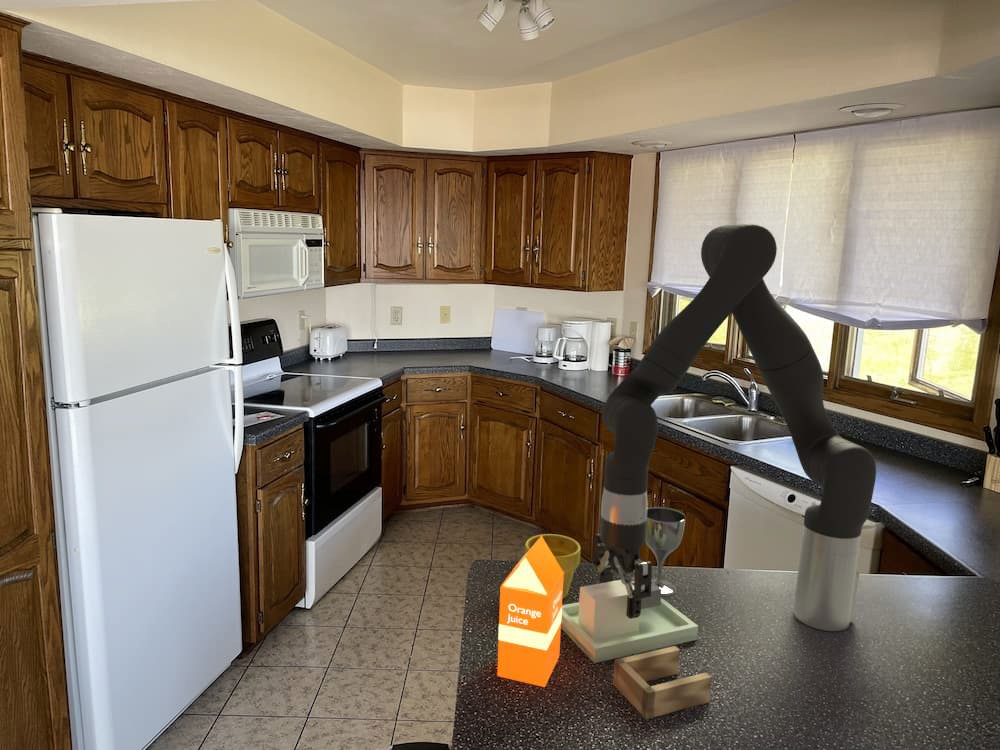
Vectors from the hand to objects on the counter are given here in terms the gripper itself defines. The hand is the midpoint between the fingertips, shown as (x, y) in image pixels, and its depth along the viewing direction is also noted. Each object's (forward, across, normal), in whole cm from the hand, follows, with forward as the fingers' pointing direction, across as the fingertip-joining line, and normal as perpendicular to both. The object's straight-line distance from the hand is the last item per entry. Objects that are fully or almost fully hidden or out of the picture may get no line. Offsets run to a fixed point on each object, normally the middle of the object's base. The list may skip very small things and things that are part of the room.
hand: (618, 604), depth 120 cm
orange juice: (+5, -4, +18) cm, 19 cm away
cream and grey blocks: (+4, 0, -1) cm, 4 cm away
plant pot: (+5, +16, +4) cm, 18 cm away
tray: (+5, 0, -2) cm, 5 cm away
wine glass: (+6, +12, -16) cm, 21 cm away
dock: (+5, -17, +2) cm, 18 cm away
